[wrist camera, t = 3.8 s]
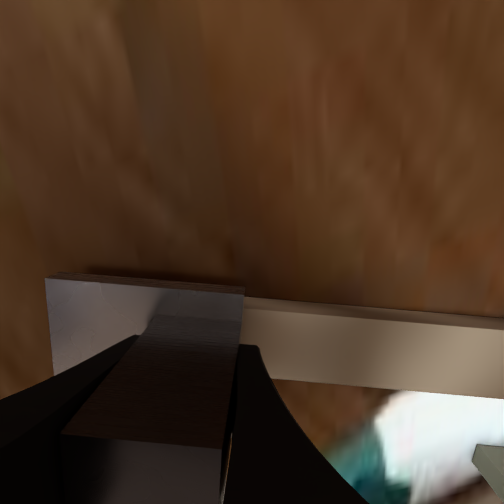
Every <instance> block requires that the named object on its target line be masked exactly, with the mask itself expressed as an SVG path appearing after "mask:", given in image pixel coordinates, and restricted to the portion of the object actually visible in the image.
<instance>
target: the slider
mask: <svg viewBox="0 0 504 504" xmlns="http://www.w3.org/2000/svg"><path fill="white" fill-rule="evenodd" d="M45 287H46V297H47V307H48V318H49V328H50V338H51V349H52V359H53V369H54V376H55V375H57V374H59V373H61V372H63V371H65V370H67V369H69V368H71V367H73V366H75V365H77V364H79V363H81V362H83V361H85V360H87V359H89V358H91V357H92V356H94V355H96V354H98V353H100V352H102V351H104V350H105V349H107V348H109V347H111V346H113V345H115V344H116V343H118V342H120V341H122V340H124V339H126V338H128V337H130V336H132V335H140V336H139V338H138V339H137V340H136V341H135V343H134V344H133V345H132V346H131V347H130V349H129V350H128V351H127V352H126V353H125V355H124V356H123V357H122V358H121V359H120V361H119V362H118V363H117V364H116V366H115V367H114V368H113V369H112V370H111V372H110V373H109V374H108V375H107V376H106V378H105V379H104V380H103V381H102V382H101V384H100V385H99V386H98V387H97V389H96V390H95V391H94V392H93V393H92V395H91V396H90V397H89V398H88V399H87V401H86V402H85V403H84V404H83V405H82V407H81V408H80V409H79V410H78V412H77V413H76V414H75V415H74V416H73V418H72V419H71V420H70V421H69V422H68V424H67V425H66V426H65V427H64V428H63V430H62V431H61V432H60V433H59V439H60V449H61V459H62V469H63V480H64V490H65V500H66V504H223V499H224V491H225V483H226V475H227V467H228V459H229V451H230V444H231V438H232V422H233V408H234V393H235V379H236V365H237V354H238V349H239V344H241V339H242V325H243V311H244V298H245V287H240V286H228V285H216V284H204V283H192V282H180V281H168V280H156V279H144V278H132V277H119V276H107V275H95V274H83V273H71V272H58V273H56V274H54V275H51V276H49V277H47V278H45Z"/></svg>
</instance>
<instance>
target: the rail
mask: <svg viewBox="0 0 504 504" xmlns="http://www.w3.org/2000/svg"><path fill="white" fill-rule="evenodd" d="M241 344H249V345H257V346H258V347H259V348H260V352H261V356H262V359H263V362H264V364H265V367H266V369H267V371H268V374H269V376H270V378H274V379H285V380H296V381H307V382H318V383H329V384H341V385H352V386H363V387H374V388H385V389H396V390H408V391H419V392H430V393H441V394H452V395H464V396H475V397H486V398H497V399H504V318H493V317H481V316H469V315H457V314H445V313H433V312H421V311H409V310H397V309H385V308H373V307H362V306H350V305H338V304H326V303H314V302H302V301H290V300H278V299H266V298H254V297H245V298H244V311H243V325H242V339H241Z"/></svg>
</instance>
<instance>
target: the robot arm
mask: <svg viewBox="0 0 504 504" xmlns="http://www.w3.org/2000/svg"><path fill="white" fill-rule="evenodd" d="M139 336H140V335H132V336H130V337H128V338H126V339H124V340H122V341H120V342H118V343H116V344H115V345H113V346H111V347H109V348H107V349H105V350H104V351H102V352H100V353H98V354H96V355H94V356H92V357H91V358H89V359H87V360H85V361H83V362H81V363H79V364H77V365H75V366H73V367H71V368H69V369H67V370H65V371H63V372H61V373H59V374H57V375H55V376H53V377H51V378H49V379H47V380H45V381H43V382H41V383H38V384H36V385H34V386H32V387H30V388H27V389H25V390H23V391H20V392H18V393H15V394H13V395H11V396H8V397H6V398H3V399H1V400H0V504H66V500H65V490H64V480H63V469H62V459H61V449H60V439H59V433H60V432H61V431H62V430H63V428H64V427H65V426H66V425H67V424H68V422H69V421H70V420H71V419H72V418H73V416H74V415H75V414H76V413H77V412H78V410H79V409H80V408H81V407H82V405H83V404H84V403H85V402H86V401H87V399H88V398H89V397H90V396H91V395H92V393H93V392H94V391H95V390H96V389H97V387H98V386H99V385H100V384H101V382H102V381H103V380H104V379H105V378H106V376H107V375H108V374H109V373H110V372H111V370H112V369H113V368H114V367H115V366H116V364H117V363H118V362H119V361H120V359H121V358H122V357H123V356H124V355H125V353H126V352H127V351H128V350H129V349H130V347H131V346H132V345H133V344H134V343H135V341H136V340H137V339H138V338H139ZM223 504H369V503H368V502H367V501H366V500H365V499H364V498H363V497H362V496H361V495H360V494H359V493H358V492H357V491H356V490H355V489H354V488H353V487H352V486H351V485H350V484H349V483H348V482H346V481H345V480H344V479H343V478H342V477H341V475H340V474H339V473H338V472H337V471H336V470H335V469H334V468H333V466H332V465H331V464H330V463H329V462H328V461H327V460H326V459H325V457H324V456H323V455H322V454H321V453H320V452H319V451H318V450H317V448H316V447H315V446H314V445H313V443H312V442H311V441H310V439H309V438H308V437H307V436H306V434H305V433H304V432H303V430H302V429H301V427H300V426H299V425H298V423H297V422H296V420H295V419H294V418H293V416H292V415H291V413H290V411H289V410H288V408H287V407H286V405H285V403H284V402H283V400H282V398H281V397H280V395H279V393H278V391H277V389H276V388H275V386H274V384H273V382H272V380H271V378H270V376H269V374H268V371H267V369H266V367H265V364H264V362H263V359H262V356H261V352H260V348H259V347H258V346H257V345H249V344H239V349H238V354H237V365H236V379H235V393H234V408H233V422H232V447H231V454H230V461H229V468H228V474H227V481H226V488H225V494H224V501H223Z"/></svg>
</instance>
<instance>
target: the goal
mask: <svg viewBox="0 0 504 504" xmlns="http://www.w3.org/2000/svg"><path fill="white" fill-rule="evenodd" d="M472 462H473V464H474V465H475V466H476V468H477V469H478V470H479V471H480V473H481V474H482V475H483V477H484V478H485V479H486V481H487V482H488V483H489V485H490V486H491V487H492V489H493V490H494V491H495V493H496V494H497V495H498V496H499V498H500V499H501V500H502V502H503V503H504V447H496V446H485V445H477V447H476V451H475V454H474V457H473V460H472Z"/></svg>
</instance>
